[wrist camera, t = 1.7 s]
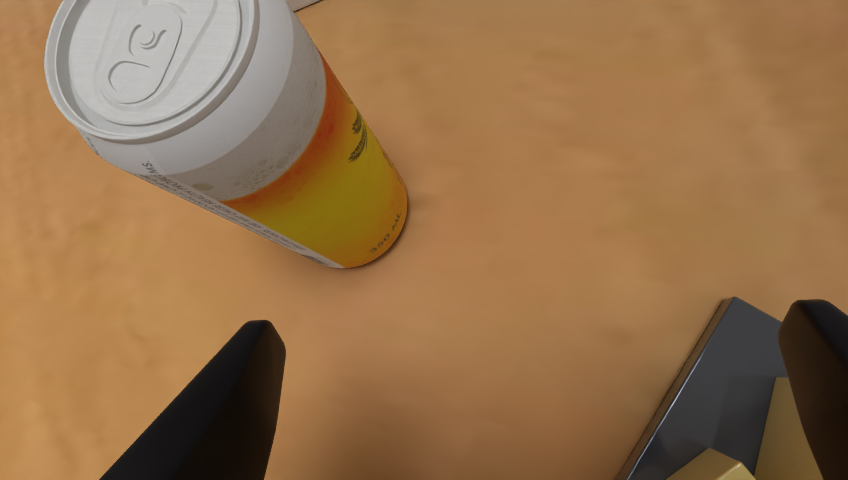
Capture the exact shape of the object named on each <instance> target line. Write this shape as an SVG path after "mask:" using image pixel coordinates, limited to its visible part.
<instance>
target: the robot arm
mask: <svg viewBox="0 0 848 480" xmlns="http://www.w3.org/2000/svg"><path fill="white" fill-rule="evenodd" d="M778 343H779V347H780V351H781V354H782V358H783V361H784V365H785V368H786V372H787V376H788V379H789V383H790V386H791V390H792V393H793V397H794V400H795V404H796V408H797V411H798V415H799V418H800V421H801V424H802V428H803V431H804V433H805V436H806V439H807V441H808V444H809V446H810V449H811V451H812V454H813V456H814V458H815V461H816V463H817V466H818V468H819V470H820V473H821V475H822V478H823V480H848V316H847V315H846V314H845V313H843V312H842V311H841V310H839V309H838V308H837V307H835V306H834V305H833V304H831V303H830V302H828V301H825V300H821V299H813V300H797V301H795V302H794V303H793V304H792V305H791V307H790V309H789V311H788V313H787V314H786V316H785V318H784V320H783V322H782V324H781V326H780V328H779V331H778ZM285 358H286V349H285V345H284V343H283V341H282V339H281V338H280V336H279V334H278V333H277V331H276V329H275V328H274V326H273V324H272V323H271V322H270V321H268V320H254V321H249V322H247V323H245V324H244V325H243V326H242V327H241V328H240V329H239V330H238V331H237V333H236V334H235V335H234V336H233V337H232V338H231V339H230V340H229V341H228V342H227V343H226V344H225V345H224V346H223V348H222V349H221V350H220V351H219V352H218V353H217V354H216V355H215V356H214V357H213V358H212V359H211V360H210V361H209V363H208V364H207V365H206V366H205V367H204V368H203V369H202V370H201V371H200V372H199V373H198V374H197V375H196V376H195V377H194V379H193V380H192V381H191V382H190V383H189V384H188V385H187V386H186V387H185V388H184V389H183V390H182V391H181V392H180V394H179V395H178V396H177V397H176V398H175V399H174V400H173V401H172V402H171V403H170V404H169V405H168V406H167V407H166V409H165V410H164V411H163V412H162V413H161V414H160V415H159V416H158V417H157V418H156V419H155V420H154V421H153V422H152V424H151V425H150V426H149V427H148V428H147V429H146V430H145V431H144V432H143V433H142V434H141V435H140V436H139V437H138V439H137V440H136V441H135V442H134V443H133V444H132V445H131V446H130V447H129V448H128V449H127V450H126V451H125V452H124V454H123V455H122V456H121V457H120V458H119V459H118V460H117V461H116V462H115V463H114V464H113V465H112V466H111V467H110V469H109V470H108V471H107V472H106V473H105V474H104V475H103V476H102V477H101V478H100V479H99V480H264V477H265V473H266V469H267V465H268V461H269V456H270V452H271V448H272V444H273V440H274V435H275V431H276V425H277V418H278V411H279V403H280V396H281V388H282V381H283V373H284V365H285Z"/></svg>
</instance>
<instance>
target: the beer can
mask: <svg viewBox="0 0 848 480" xmlns="http://www.w3.org/2000/svg"><path fill="white" fill-rule="evenodd" d="M44 65H45V76H46V81H47V86H48V88H49V91H50V94H51V96H52V98H53V100H54V102H55V104H56V106H57V107H58V109H59V110H60V111H61V113H62V114H63V115H64V116H65V117H66V118H67V119H68V120H69V121H70V122H71V123H73V124H74V125H75V126H76V128H77V129H78V131H79V132H80V134H81V135H82V137H83V138H84V140H85V141H86V142H87V144H88V145H89V146H90V148H91V149H92V150H93V151H94V152H95V153H96V154H97V155H99V156H100V157H101V158H103V159H104V160H105V161H107V162H109V163H110V164H112V165H114V166H116V167H118V168H120V169H122V170H124V171H126V172H128V173H130V174H133V175H135V176H137V177H139V178H141V179H143V180H145V181H147V182H149V183H151V184H154V185H156V186H158V187H160V188H162V189H164V190H166V191H168V192H170V193H172V194H175V195H177V196H179V197H181V198H183V199H185V200H187V201H189V202H191V203H193V204H196V205H198V206H200V207H202V208H204V209H206V210H208V211H210V212H212V213H215V214H217V215H219V216H221V217H223V218H225V219H227V220H229V221H231V222H233V223H236V224H238V225H240V226H242V227H244V228H246V229H248V230H250V231H252V232H254V233H257V234H259V235H261V236H263V237H265V238H267V239H269V240H271V241H273V242H276V243H278V244H280V245H282V246H284V247H286V248H288V249H290V250H292V251H294V252H297V253H299V254H301V255H303V256H305V257H307V258H309V259H311V260H313V261H315V262H318V263H320V264H322V265H325V266H329V267H334V268H351V267H357V266H361V265H363V264H366V263H368V262H370V261H372V260H374V259H376V258H377V257H379V256H380V255H382V254H383V253H384V252H385V251H386V250H387V249H388V248H389V247H390V246H391V245H392V244H393V242H394V241H395V240H396V238H397V237H398V235H399V233H400V231H401V229H402V227H403V224H404V221H405V218H406V213H407V194H406V189H405V185H404V183H403V180H402V178H401V176H400V174H399V173H398V171H397V170H396V168H395V167H394V165H393V163H392V162H391V160H390V159H389V157H388V156H387V154H386V153H385V151H384V150H383V148H382V147H381V145H380V144H379V142H378V140H377V139H376V137H375V136H374V134H373V133H372V131H371V130H370V128H369V127H368V125H367V124H366V122H365V121H364V119H363V117H362V116H361V114H360V113H359V111H358V110H357V108H356V107H355V105H354V104H353V102H352V101H351V99H350V97H349V96H348V94H347V93H346V91H345V90H344V88H343V87H342V85H341V84H340V82H339V81H338V79H337V78H336V76H335V74H334V73H333V71H332V70H331V68H330V67H329V65H328V64H327V62H326V61H325V59H324V58H323V56H322V55H321V53H320V51H319V50H318V48H317V47H316V45H315V44H314V42H313V41H312V39H311V38H310V36H309V35H308V33H307V31H306V30H305V28H304V27H303V25H302V24H301V22H300V21H299V19H298V18H297V16H296V15H295V13H294V12H293V10H292V8H291V7H290V5H289V4H288V2H287V1H286V0H63V1H62V3H61V5H60V6H59V8H58V10H57V12H56V14H55V16H54V19H53V21H52V24H51V27H50V30H49V34H48V37H47V42H46V48H45V61H44Z"/></svg>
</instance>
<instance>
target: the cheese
mask: <svg viewBox="0 0 848 480" xmlns="http://www.w3.org/2000/svg"><path fill="white" fill-rule="evenodd" d="M781 324H782V322H781V321H779V320H777V319H775V318H773V317H772V316H770V315H768V314H766V313H764V312H763V311H761V310H759V309H757V308H755V307H754V306H752V305H750V304H748V303H746V302H745V301H743V300H741V299H739V298H737V297H731V298H728V299H725V300H723V302H722V304H721V305H720V307H719V309H718V310H717V312H716V314H715V315H714V317H713V319H712V320H711V322H710V324H709V325H708V327H707V329H706V330H705V332H704V334H703V335H702V337H701V339H700V340H699V342H698V344H697V345H696V347H695V349H694V350H693V352H692V354H691V355H690V357H689V359H688V360H687V362H686V364H685V365H684V367H683V369H682V370H681V372H680V374H679V375H678V377H677V379H676V380H675V382H674V384H673V385H672V387H671V389H670V390H669V392H668V394H667V395H666V397H665V399H664V400H663V402H662V404H661V406H660V407H659V409H658V411H657V412H656V414H655V416H654V417H653V419H652V421H651V422H650V424H649V426H648V427H647V429H646V431H645V432H644V434H643V436H642V437H641V439H640V441H639V442H638V444H637V446H636V447H635V449H634V451H633V452H632V454H631V456H630V457H629V459H628V461H627V462H626V464H625V466H624V467H623V469H622V471H621V472H620V474H619V476H618V477H617V479H616V480H823V478H822V475H821V473H820V470H819V468H818V466H817V463H816V461H815V458H814V456H813V454H812V451H811V449H810V446H809V444H808V441H807V439H806V436H805V433H804V431H803V428H802V424H801V421H800V418H799V415H798V411H797V408H796V404H795V400H794V397H793V393H792V390H791V386H790V383H789V379H788V376H787V372H786V368H785V365H784V361H783V358H782V354H781V351H780V347H779V343H778V331H779V328H780V326H781Z"/></svg>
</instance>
